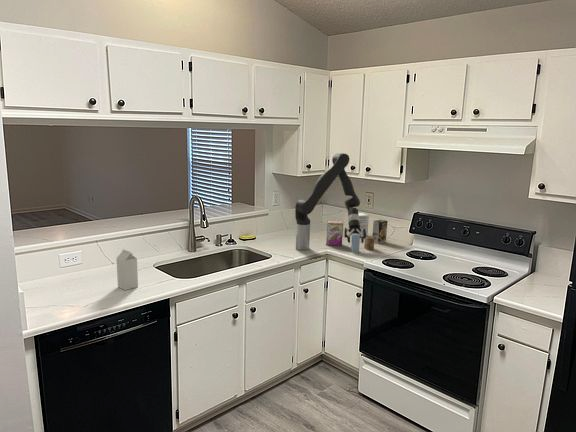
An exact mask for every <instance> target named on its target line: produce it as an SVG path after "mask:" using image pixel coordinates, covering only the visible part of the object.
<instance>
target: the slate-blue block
mask: <svg viewBox="0 0 576 432" xmlns="http://www.w3.org/2000/svg"><path fill="white" fill-rule="evenodd" d="M360 240H361V237H360V235H359V234H355V233H352V235H351V248H350V249H351V250H350V251H351V253H352V252H353V254H355V253H356V254H357V253H358V254H360V242H361V241H360Z"/></svg>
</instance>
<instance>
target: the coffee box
mask: <svg viewBox="0 0 576 432" xmlns="http://www.w3.org/2000/svg"><path fill="white" fill-rule="evenodd" d="M372 224H373V225H372V234H371V235H372V236H371V237H373V238H375V240H374V244H378V245H380V244H385V243H386V242H387V236H388V235H387V233H388V220H385V219H378V220H373V223H372Z"/></svg>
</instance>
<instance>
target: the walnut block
mask: <svg viewBox="0 0 576 432" xmlns="http://www.w3.org/2000/svg"><path fill="white" fill-rule="evenodd" d="M374 240H375V238H373V237H372V236H366V238H364V249H365V250H367V251H373V250H375V243H374Z"/></svg>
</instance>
